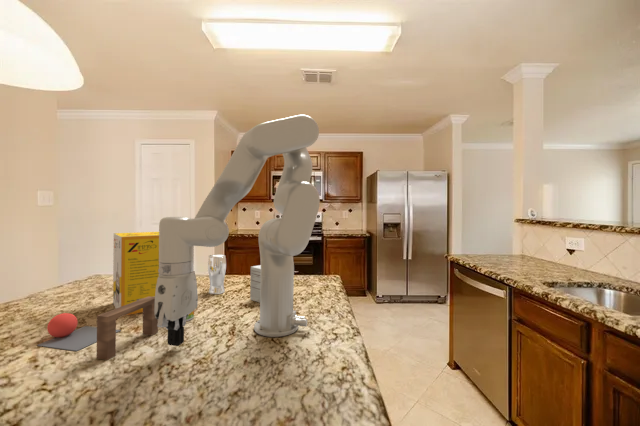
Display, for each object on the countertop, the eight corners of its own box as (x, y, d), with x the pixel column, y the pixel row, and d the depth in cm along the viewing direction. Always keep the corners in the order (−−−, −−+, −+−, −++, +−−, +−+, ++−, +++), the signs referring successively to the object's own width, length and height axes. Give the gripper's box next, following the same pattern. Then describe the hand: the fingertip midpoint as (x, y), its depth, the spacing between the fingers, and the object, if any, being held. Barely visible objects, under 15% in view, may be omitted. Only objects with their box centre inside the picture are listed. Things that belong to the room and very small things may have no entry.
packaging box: (113, 303, 103) (113, 233, 103) (163, 295, 114) (164, 231, 113) (119, 316, 91) (120, 236, 91) (175, 305, 102) (176, 234, 101)
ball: (76, 336, 79) (87, 319, 79) (52, 346, 73) (63, 328, 73) (62, 322, 80) (72, 305, 80) (37, 330, 74) (48, 312, 74)
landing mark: (120, 330, 81) (120, 330, 81) (76, 351, 69) (76, 350, 69) (85, 326, 83) (85, 325, 83) (36, 345, 71) (37, 344, 71)
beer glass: (208, 290, 121) (208, 254, 121) (225, 289, 123) (226, 254, 123) (207, 295, 114) (207, 257, 114) (225, 294, 116) (226, 256, 116)
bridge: (157, 332, 80) (158, 297, 80) (107, 359, 65) (107, 316, 65) (148, 331, 80) (148, 296, 80) (96, 358, 66) (96, 315, 66)
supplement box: (264, 295, 116) (265, 263, 115) (277, 299, 111) (277, 266, 111) (249, 299, 110) (250, 266, 110) (262, 304, 105) (262, 269, 105)
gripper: (167, 276, 62) (167, 361, 62) (208, 263, 76) (207, 332, 77) (137, 273, 63) (137, 357, 64) (183, 261, 78) (182, 330, 78)
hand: (175, 343), depth 70 cm, fingers closed
